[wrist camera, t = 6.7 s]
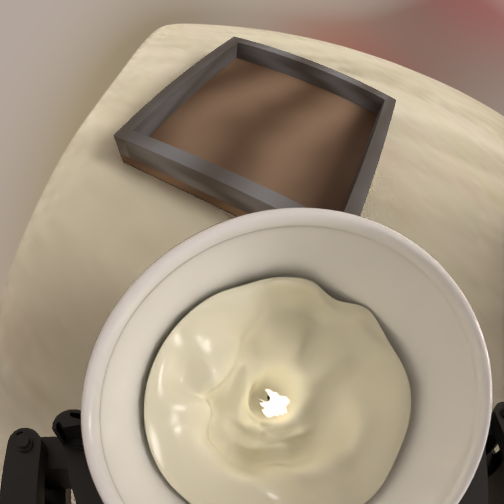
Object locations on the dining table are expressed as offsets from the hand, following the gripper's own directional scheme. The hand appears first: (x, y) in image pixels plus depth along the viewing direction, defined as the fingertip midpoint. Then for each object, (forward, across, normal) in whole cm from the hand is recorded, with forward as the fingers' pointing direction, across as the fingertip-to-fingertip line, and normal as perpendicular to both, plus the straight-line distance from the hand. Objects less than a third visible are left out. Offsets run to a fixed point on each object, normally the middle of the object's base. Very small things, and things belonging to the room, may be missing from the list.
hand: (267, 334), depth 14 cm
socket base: (+14, +1, +9) cm, 17 cm away
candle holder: (+1, 0, -5) cm, 5 cm away
